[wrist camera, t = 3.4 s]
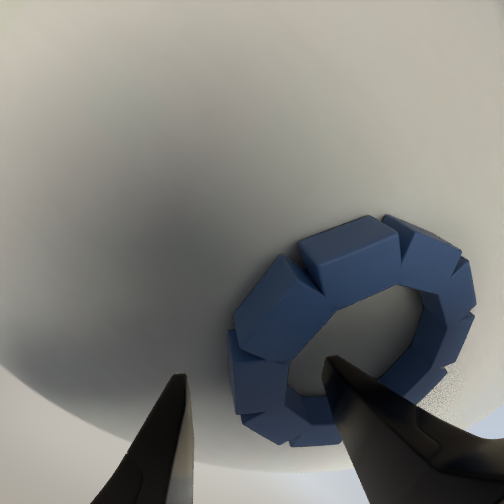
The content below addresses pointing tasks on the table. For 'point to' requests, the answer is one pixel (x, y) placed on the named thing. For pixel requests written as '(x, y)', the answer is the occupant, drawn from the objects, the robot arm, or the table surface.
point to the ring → (333, 299)
